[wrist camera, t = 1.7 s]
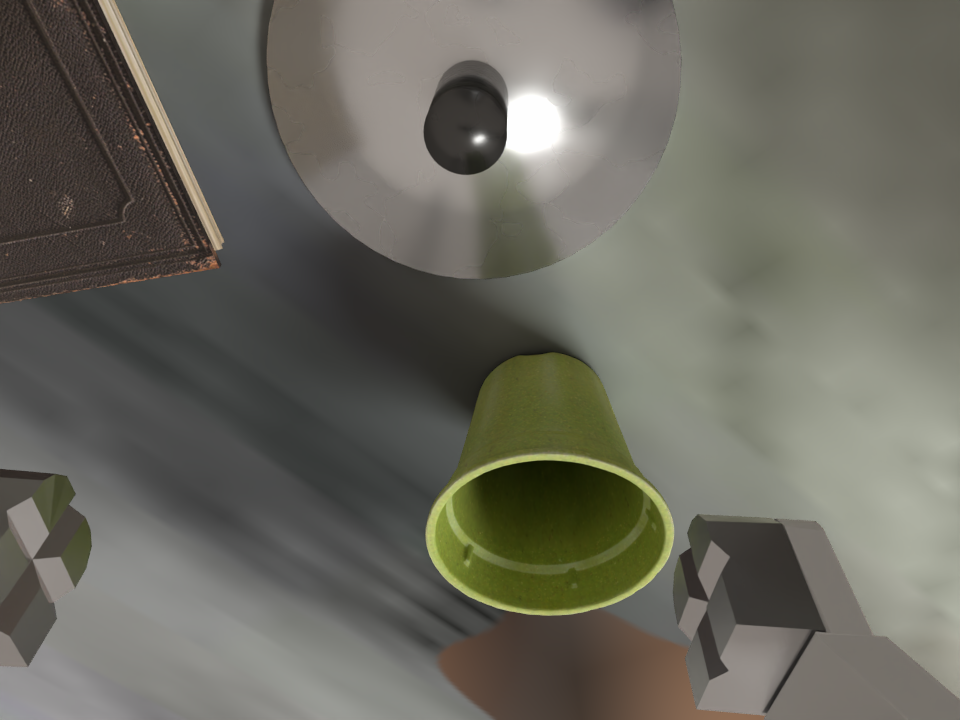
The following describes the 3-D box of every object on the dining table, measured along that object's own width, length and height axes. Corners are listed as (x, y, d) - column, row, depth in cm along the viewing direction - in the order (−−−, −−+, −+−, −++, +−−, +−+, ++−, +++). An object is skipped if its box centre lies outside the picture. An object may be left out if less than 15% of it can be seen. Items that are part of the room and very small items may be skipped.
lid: (726, -135, 21) (774, -135, 17) (632, 283, 30) (650, 346, 26) (249, -176, 21) (188, -185, 17) (291, 255, 30) (257, 314, 26)
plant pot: (520, 280, 30) (520, 413, 23) (683, 383, 32) (727, 529, 25) (409, 414, 34) (381, 558, 27) (559, 493, 37) (568, 642, 30)
